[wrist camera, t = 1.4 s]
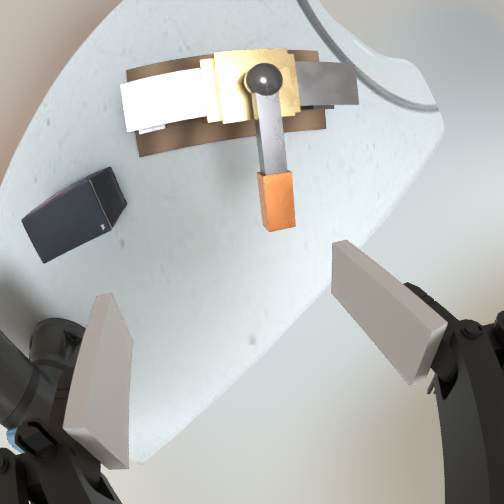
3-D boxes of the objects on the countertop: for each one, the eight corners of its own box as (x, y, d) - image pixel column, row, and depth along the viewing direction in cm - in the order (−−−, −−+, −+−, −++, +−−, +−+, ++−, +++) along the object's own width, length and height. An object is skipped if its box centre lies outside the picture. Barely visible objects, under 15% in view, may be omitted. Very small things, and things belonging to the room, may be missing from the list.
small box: (110, 163, 35) (90, 176, 26) (128, 205, 38) (115, 231, 29) (50, 195, 34) (18, 219, 25) (68, 234, 37) (43, 267, 28)
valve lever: (241, 67, 22) (246, 63, 20) (274, 65, 22) (281, 61, 21) (260, 225, 29) (267, 232, 27) (289, 219, 29) (297, 226, 27)
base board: (141, 156, 36) (139, 157, 34) (127, 72, 30) (126, 70, 29) (321, 128, 40) (326, 128, 39) (313, 52, 35) (317, 50, 34)
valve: (140, 137, 33) (124, 144, 22) (132, 86, 30) (112, 69, 19) (321, 112, 38) (375, 113, 27) (316, 66, 35) (369, 52, 24)
